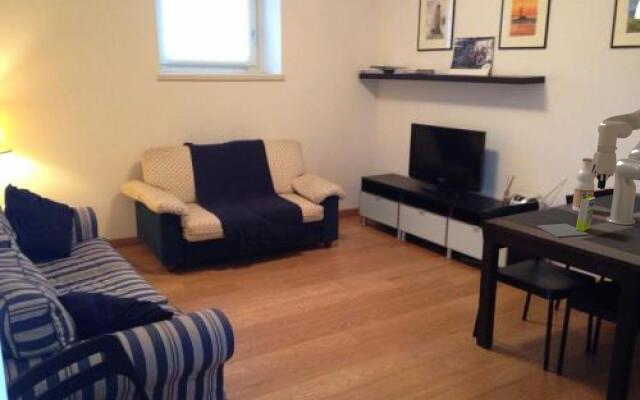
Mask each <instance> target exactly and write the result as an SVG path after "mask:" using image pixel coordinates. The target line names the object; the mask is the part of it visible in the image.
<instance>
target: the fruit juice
mask: <svg viewBox="0 0 640 400" xmlns="http://www.w3.org/2000/svg"><path fill="white" fill-rule="evenodd" d="M592 160H593V158H589V157H583V158H582V161H581V162H582V163H581V166H579V170H578V171H577V172H576V175H575V176H576V181H575V184H574V190H573V199H572V208H571V209H572V210H573V211H575V212H578V213H579V210H580V204H581V199H582V194H584V193H587V192H589V195H588V196H591V197H594V192H595V179H596V177H594V176H592V172H591V164H592ZM585 196H586V195H585Z"/></svg>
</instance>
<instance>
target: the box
mask: <svg viewBox="0 0 640 400" xmlns="http://www.w3.org/2000/svg"><path fill="white" fill-rule="evenodd" d="M585 195H586V196H585ZM588 195H589V192H587V193H584V194H582V199H581V204H580V210H579V212H578V215H577V221H576V227H575V228H576V230H579V231H584V232H586V231H587V230H589V229H590V227H591V222H592V219H593V218H592V217H593V213H594V207H595V203H596V197H595V196H593V197H591V196H588Z"/></svg>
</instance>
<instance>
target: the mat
mask: <svg viewBox="0 0 640 400" xmlns="http://www.w3.org/2000/svg"><path fill="white" fill-rule="evenodd" d="M536 226H537V227H536V228H538V227H539V228H538V229H540V228H541V229H540V230H542V231H544V232H546V233H548V234H550V235H551V236H554V237H555V238H569V237H570V238H571V237H581V236H582V237H583V236H589V235H590V234H589V233H588V232H586V231H579V230H576V227H575V226H573V225H570V224H568V223H556V224H555V223H554V224H541V225H540V224H539V225H536Z"/></svg>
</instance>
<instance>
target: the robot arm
mask: <svg viewBox="0 0 640 400" xmlns="http://www.w3.org/2000/svg"><path fill="white" fill-rule="evenodd" d="M637 130H638V131H639V130H640V108H639V109H637V110H635V111H633V112H629V113H624V114H619V115H613V116H610V117H607V118H605V119H603V120H602V121H601V122H600V123H599V125H598V127H597V132H598V139H597V141H598V142H597V148H596V149H597V150H596V151H595V152H594V154H593V157H592V159H593V160H592V164H591V172H592V176H594V177H595V179H597V187H596V188H597V189H599V190H605V189H606V184H607V181H608V179H609V178H610V177H613V176H614V186H613V187H614V188H613V192H612V193H613V194H612V201H611V209H610V216H607V217H606V221H607V222H609V223H611V224H615V225H622V226H631V225H634V224H636V220H635V218H636V219H639V218H640V213H634V207H635V199H636V193H637V186H636V183H635V181H640V140H639V142H638V143H637V144H635V146H634V147H633V148H632V149H631V151H630V152H629V153H628V155H627V158H620V159H618V160H617V153H616V150H618V147H617V141H618V139H627V138H628V137H630V136H631V135H632V133H633V131H637Z"/></svg>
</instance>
